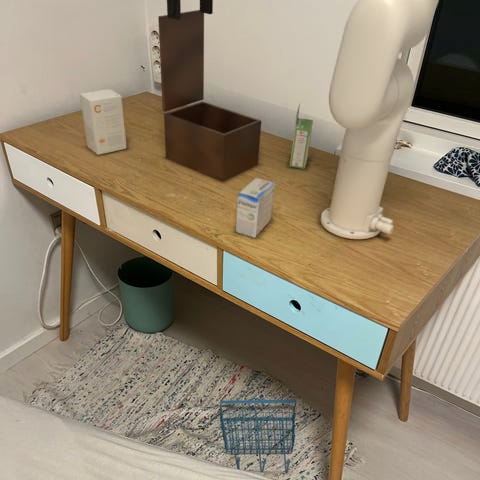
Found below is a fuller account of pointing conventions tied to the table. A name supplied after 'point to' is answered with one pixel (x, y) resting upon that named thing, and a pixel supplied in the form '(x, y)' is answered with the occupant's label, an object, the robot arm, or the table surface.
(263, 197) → the medicine box
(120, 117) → the small box
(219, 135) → the chest
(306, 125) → the ink box
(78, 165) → the table surface
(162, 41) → the chest lid
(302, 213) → the table surface
